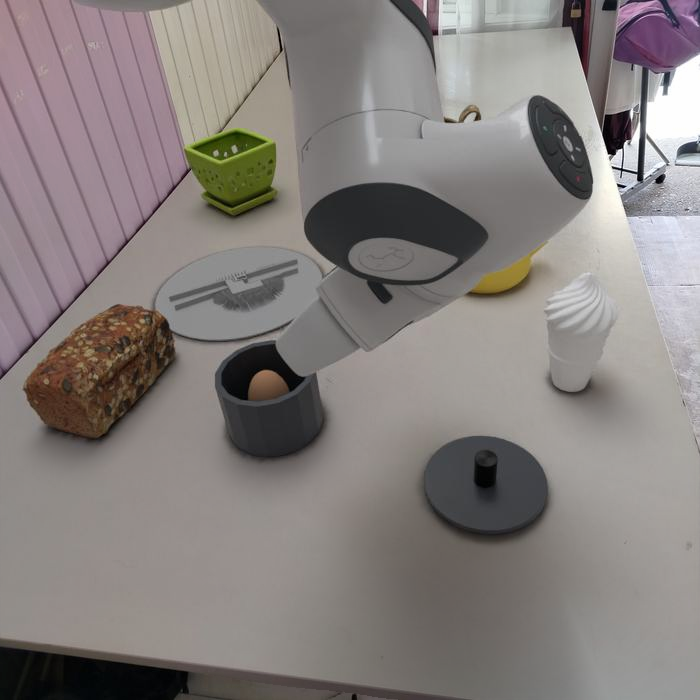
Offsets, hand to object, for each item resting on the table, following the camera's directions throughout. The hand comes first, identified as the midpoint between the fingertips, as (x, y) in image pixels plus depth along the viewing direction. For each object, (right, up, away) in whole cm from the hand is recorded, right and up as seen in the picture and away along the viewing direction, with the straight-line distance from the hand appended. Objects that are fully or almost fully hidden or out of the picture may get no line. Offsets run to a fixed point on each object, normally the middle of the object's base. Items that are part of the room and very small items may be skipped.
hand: (330, 324), depth 62 cm
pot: (-8, -12, +19) cm, 24 cm away
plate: (-17, +7, +45) cm, 49 cm away
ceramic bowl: (+18, +33, +73) cm, 82 cm away
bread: (-31, -8, +27) cm, 42 cm away
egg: (-8, -12, +19) cm, 23 cm away
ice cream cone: (+30, -7, +20) cm, 37 cm away
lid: (+17, -17, +8) cm, 25 cm away
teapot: (+24, +11, +44) cm, 51 cm away
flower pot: (-21, +29, +72) cm, 81 cm away
